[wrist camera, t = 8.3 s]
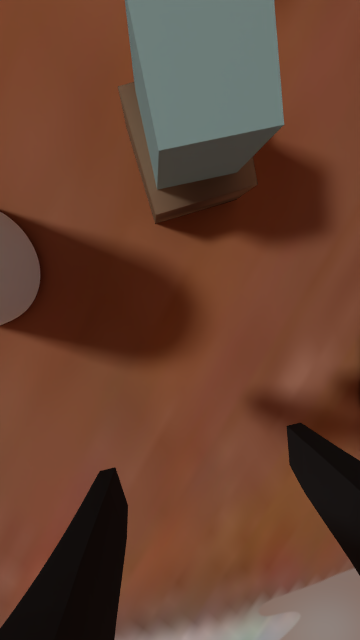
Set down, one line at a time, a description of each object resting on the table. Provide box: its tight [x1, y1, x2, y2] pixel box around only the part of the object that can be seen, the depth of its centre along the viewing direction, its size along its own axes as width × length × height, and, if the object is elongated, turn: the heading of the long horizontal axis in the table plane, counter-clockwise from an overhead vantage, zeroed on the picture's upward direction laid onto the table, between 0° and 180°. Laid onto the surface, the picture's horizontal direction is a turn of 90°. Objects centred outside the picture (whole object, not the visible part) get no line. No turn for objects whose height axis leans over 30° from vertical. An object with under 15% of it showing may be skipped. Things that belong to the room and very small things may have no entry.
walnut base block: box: [118, 82, 258, 224], centre depth 14 cm, size 6×6×4 cm
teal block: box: [125, 0, 284, 190], centre depth 10 cm, size 4×4×5 cm
